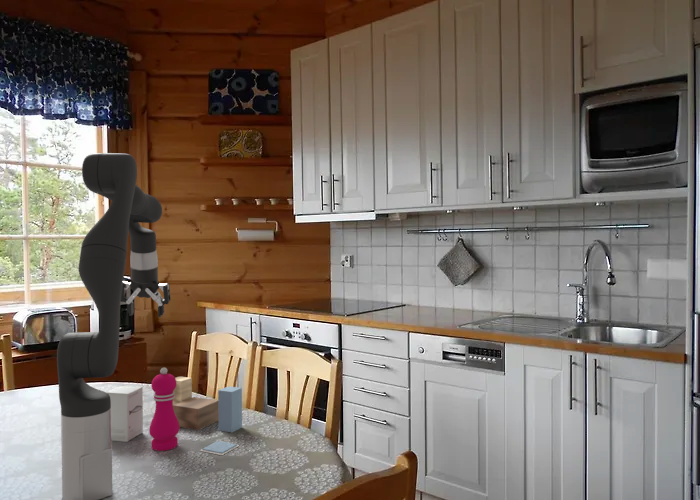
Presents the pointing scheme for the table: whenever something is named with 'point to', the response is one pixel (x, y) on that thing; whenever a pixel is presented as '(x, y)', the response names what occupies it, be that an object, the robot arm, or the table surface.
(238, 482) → the table surface
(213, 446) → the tile
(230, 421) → the blue pillar
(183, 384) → the oak pillar
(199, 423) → the walnut block
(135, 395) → the supplement box
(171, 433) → the pepper mill
